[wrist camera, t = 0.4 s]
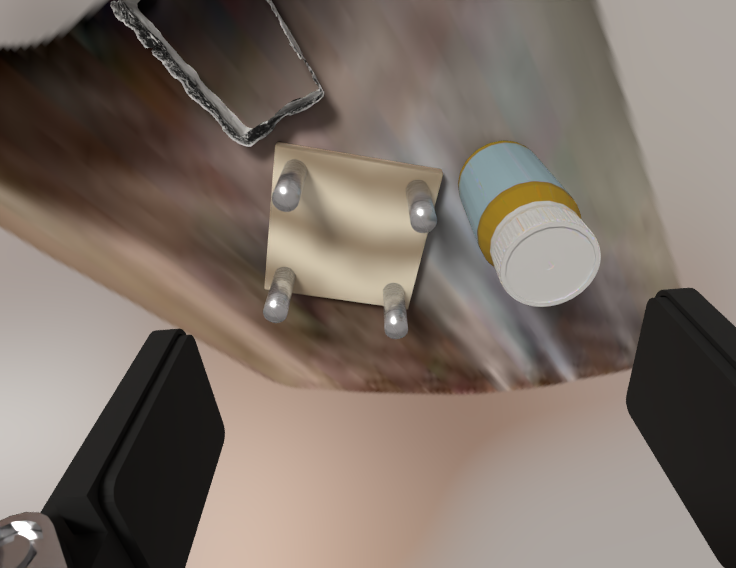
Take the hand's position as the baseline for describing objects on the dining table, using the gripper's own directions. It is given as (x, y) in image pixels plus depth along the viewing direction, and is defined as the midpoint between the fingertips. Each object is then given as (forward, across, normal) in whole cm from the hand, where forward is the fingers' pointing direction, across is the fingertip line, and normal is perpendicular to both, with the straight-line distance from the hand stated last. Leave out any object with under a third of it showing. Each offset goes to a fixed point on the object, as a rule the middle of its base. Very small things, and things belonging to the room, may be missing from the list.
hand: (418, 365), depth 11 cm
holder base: (+34, +4, +12) cm, 37 cm away
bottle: (+34, -9, +9) cm, 37 cm away
